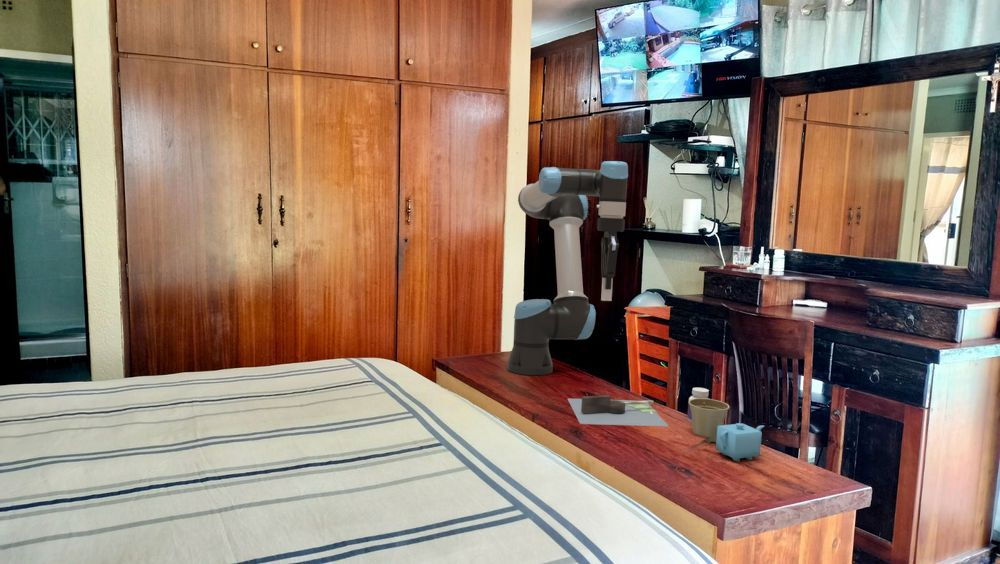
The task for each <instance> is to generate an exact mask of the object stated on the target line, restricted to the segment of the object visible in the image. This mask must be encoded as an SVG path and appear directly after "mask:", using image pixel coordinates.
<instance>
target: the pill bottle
mask: <svg viewBox="0 0 1000 564" xmlns="http://www.w3.org/2000/svg"><path fill="white" fill-rule="evenodd" d="M709 391H710V390H709V389H707V388H704V387H693V388H692V390H691V394H692V395H691V396H689V397H688V401H689V400H691V399H697V398H705V399H710V398H709ZM687 404H688V405H687V418H686V421H687V422H688V423H690V424H692V414H691V409H690V405H689V402H688V403H687Z"/></svg>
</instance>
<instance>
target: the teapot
mask: <svg viewBox="0 0 1000 564" xmlns="http://www.w3.org/2000/svg"><path fill="white" fill-rule="evenodd" d="M764 427H765V425H763V424H762V425H758V426H757V427H756V428H755V427H752V426H749V425H747V424H745V423H741V422H738V423H737V422H736V423H734V424H733V423H732V424H723V425H720V426H718V428H717V440H716V442H715V450H717V451H718V452H720V453H721V455H723V456H728V457H730V458H731V459H732V461H733V462H740V460H741V459H744V458H745V459H747V460H750V461H751V460H753V459H754V458H753V457H760V456H761V449H762V448H761V447H762V436H763V435H762V429H763V428H764Z"/></svg>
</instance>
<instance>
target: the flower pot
mask: <svg viewBox="0 0 1000 564" xmlns="http://www.w3.org/2000/svg"><path fill="white" fill-rule="evenodd" d="M688 403H689V405H690V409H691V414H692V423H691V427H692V428H691V429H692V433H694V434H695V435H697V436H701V437H704V439H703V440H702V443H703V442H704V443H711V442H713V443H716V440H717V428H718V426H720V425H724V422H725V417H726V415H727V413H728V410H729V409H730V405H729V404H728V403H726V402H723V401H721V400H716V399H713V398H712V399H711V398H709V399H705V398H697V399H691V400H689V399H688Z"/></svg>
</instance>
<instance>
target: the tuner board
mask: <svg viewBox="0 0 1000 564" xmlns="http://www.w3.org/2000/svg"><path fill="white" fill-rule="evenodd" d="M615 400H616V401H622V402H633V401H636V400H631V399H630V400H628V399H627V400H626V399H615ZM567 401H568V403H569V405H570V407H571V409H572V411H573V412H574V415H575V417H576V419H577V420H578V422H579V425H595V426H596V425H598V426H599V425H600V426H602V425H604V426H608V425H609V426H635V427H637V426H638V427H641V426H643V427H670V426H669V425H668V423H667V422H665V420H664V419H663V418H662V417H661V416H660V415H659V414H658V412H657V411H656V410H655V409H654V408H653V407H652V405H651V404H636V405H625V412H624V413H611V412H597V413H582V412H581V405H582V398H567Z"/></svg>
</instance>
